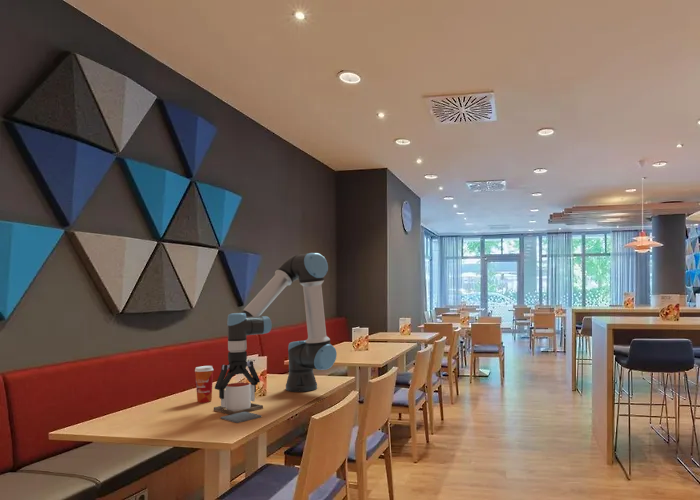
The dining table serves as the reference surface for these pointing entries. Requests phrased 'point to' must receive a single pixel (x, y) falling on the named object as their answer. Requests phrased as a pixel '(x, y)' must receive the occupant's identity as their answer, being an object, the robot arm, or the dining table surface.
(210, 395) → the coffee cup
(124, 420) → the dining table surface
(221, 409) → the frame
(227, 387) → the cup
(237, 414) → the coaster
